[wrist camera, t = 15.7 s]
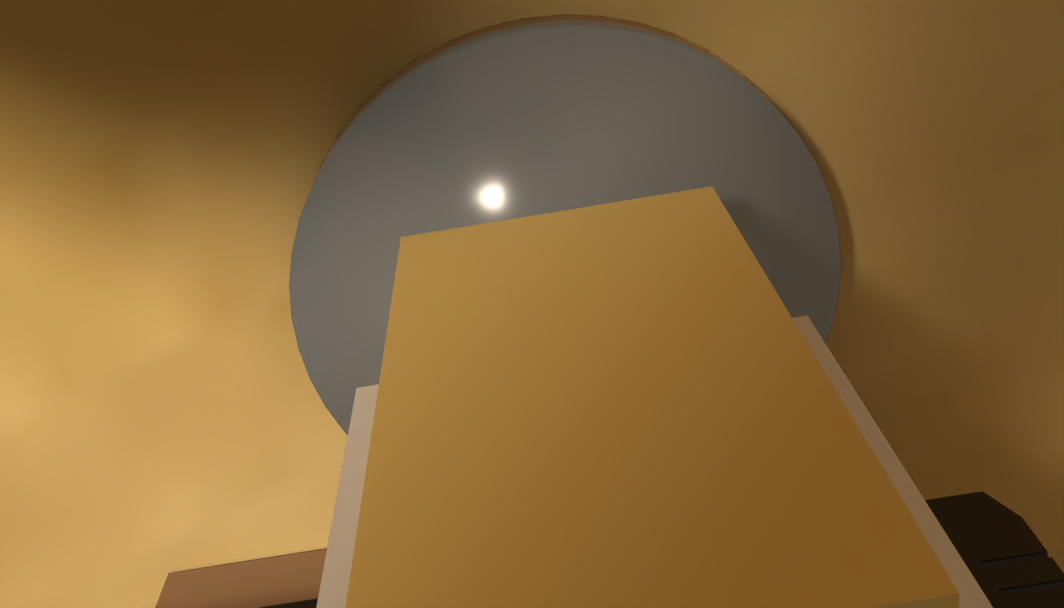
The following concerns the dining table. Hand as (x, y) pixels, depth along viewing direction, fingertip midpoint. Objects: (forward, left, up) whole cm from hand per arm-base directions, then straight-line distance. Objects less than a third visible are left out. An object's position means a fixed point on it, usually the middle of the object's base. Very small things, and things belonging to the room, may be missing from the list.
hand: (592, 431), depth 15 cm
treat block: (0, 0, -3) cm, 3 cm away
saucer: (0, 0, -5) cm, 5 cm away
